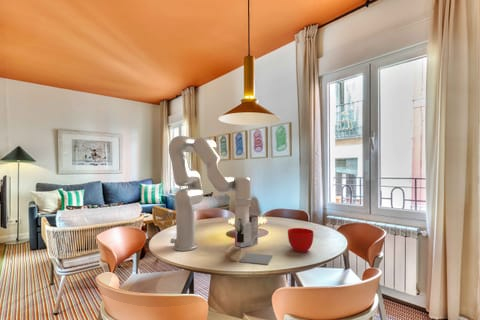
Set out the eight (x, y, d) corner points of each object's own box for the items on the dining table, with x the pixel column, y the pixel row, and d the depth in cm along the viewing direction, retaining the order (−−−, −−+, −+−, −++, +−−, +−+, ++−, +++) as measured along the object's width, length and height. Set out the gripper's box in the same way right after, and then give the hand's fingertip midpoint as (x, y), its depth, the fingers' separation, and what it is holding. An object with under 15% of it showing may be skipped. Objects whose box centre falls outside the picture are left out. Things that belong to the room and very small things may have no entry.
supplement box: (251, 246, 122) (251, 222, 123) (241, 248, 119) (241, 223, 119) (244, 243, 127) (244, 220, 127) (234, 245, 124) (234, 221, 124)
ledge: (225, 260, 119) (225, 251, 119) (232, 252, 130) (232, 244, 130) (237, 261, 118) (237, 252, 118) (244, 253, 128) (243, 245, 128)
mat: (239, 262, 117) (239, 261, 117) (246, 253, 128) (246, 252, 128) (268, 264, 113) (268, 264, 113) (272, 255, 125) (272, 255, 125)
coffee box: (238, 243, 146) (238, 214, 147) (246, 240, 151) (246, 213, 152) (251, 246, 140) (250, 216, 141) (258, 243, 145) (258, 215, 145)
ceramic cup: (304, 243, 144) (303, 225, 145) (318, 253, 128) (318, 233, 128) (282, 245, 142) (281, 226, 143) (293, 255, 126) (293, 234, 126)
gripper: (240, 200, 133) (240, 234, 132) (229, 205, 116) (229, 244, 116) (254, 200, 131) (254, 235, 130) (245, 205, 114) (245, 245, 114)
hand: (242, 239), depth 123 cm, fingers closed on supplement box, 8 cm apart
